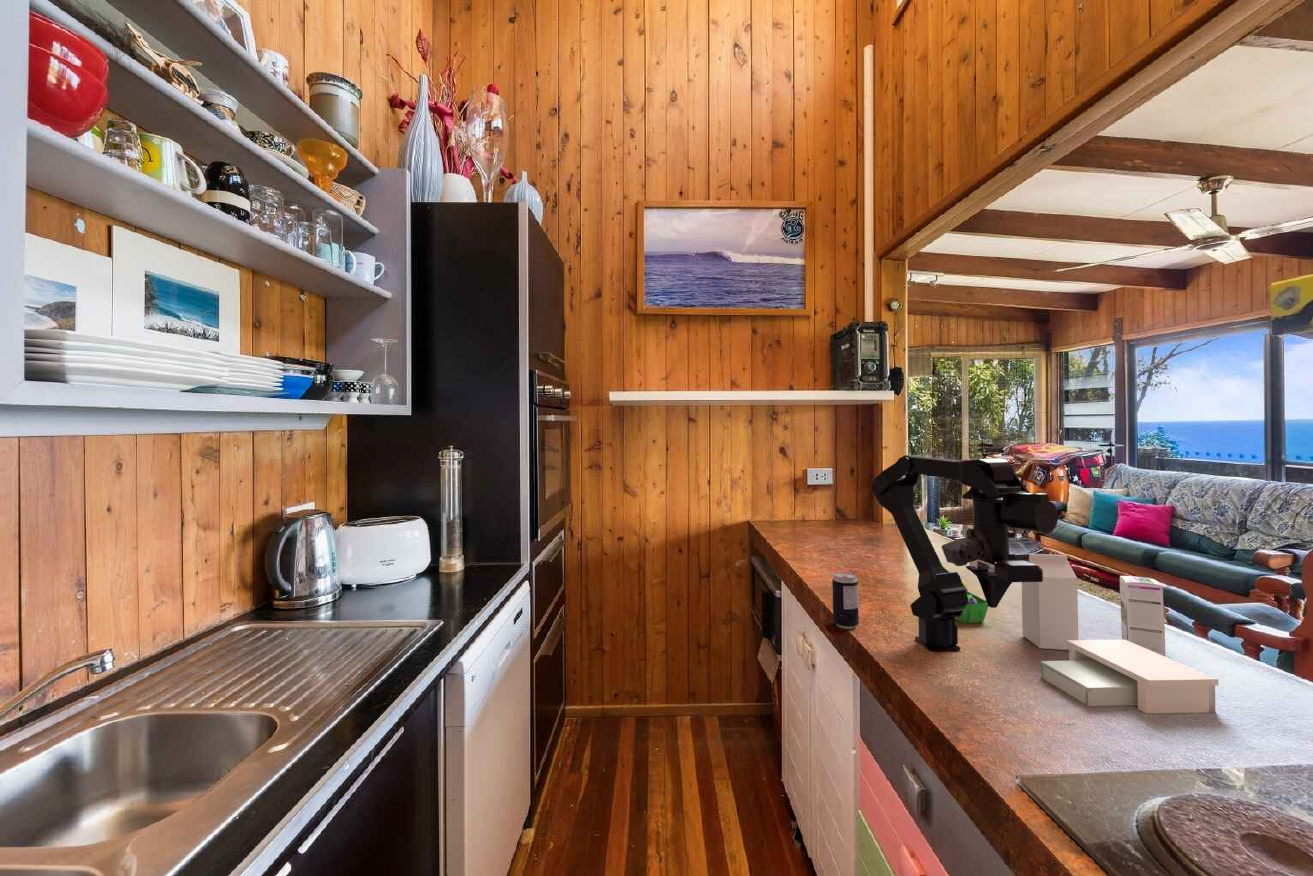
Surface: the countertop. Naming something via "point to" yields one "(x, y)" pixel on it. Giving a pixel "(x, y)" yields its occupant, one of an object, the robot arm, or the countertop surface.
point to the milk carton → (1051, 603)
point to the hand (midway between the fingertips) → (992, 607)
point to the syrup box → (1142, 612)
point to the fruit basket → (973, 609)
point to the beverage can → (845, 600)
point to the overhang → (1152, 676)
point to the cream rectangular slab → (1091, 682)
